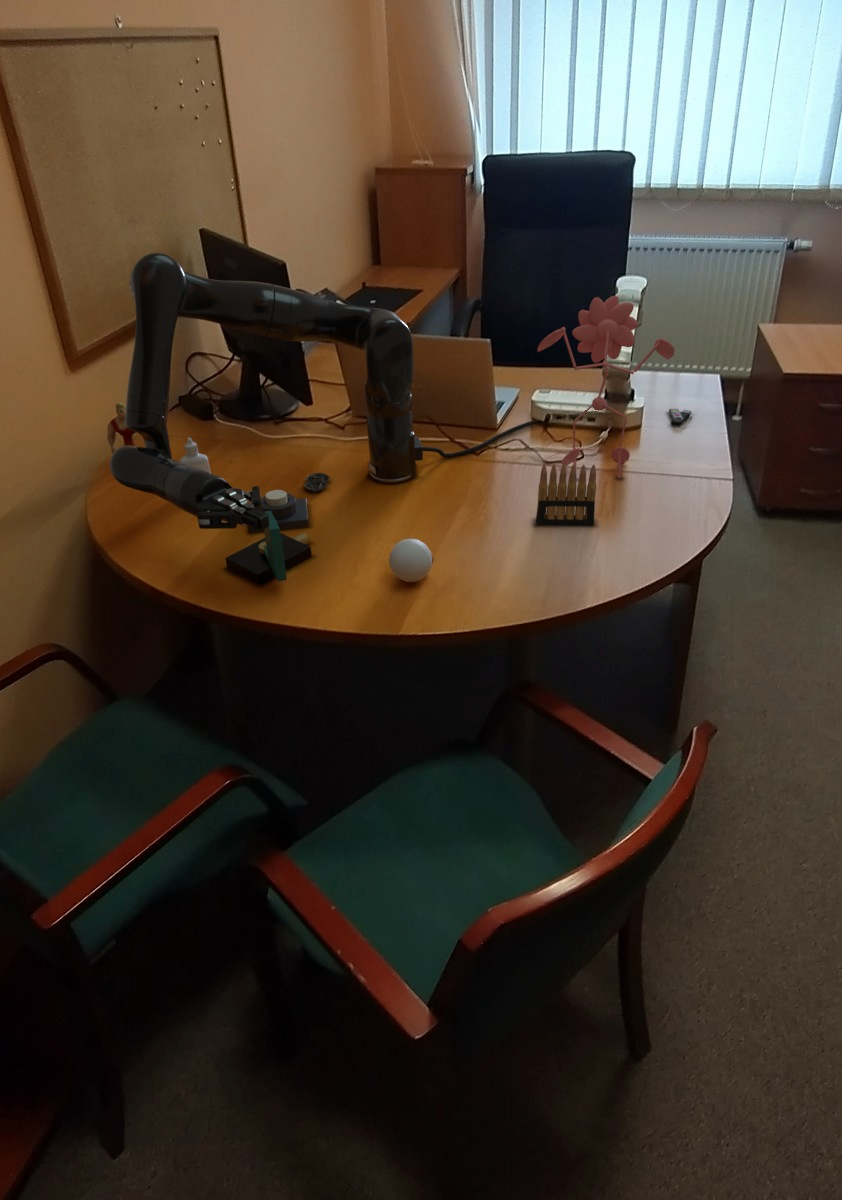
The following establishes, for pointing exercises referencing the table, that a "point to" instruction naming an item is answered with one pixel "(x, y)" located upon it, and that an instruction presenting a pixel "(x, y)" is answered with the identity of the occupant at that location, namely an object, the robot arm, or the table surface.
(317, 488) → the corroded twin loop
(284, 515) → the button housing
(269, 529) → the valve lever
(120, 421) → the action figure
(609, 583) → the table surface
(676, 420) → the usb flash drive
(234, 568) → the valve block
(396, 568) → the white sphere
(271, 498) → the button
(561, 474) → the ammunition clip
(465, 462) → the table surface
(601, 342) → the flower sculpture
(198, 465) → the eye dropper bottle
